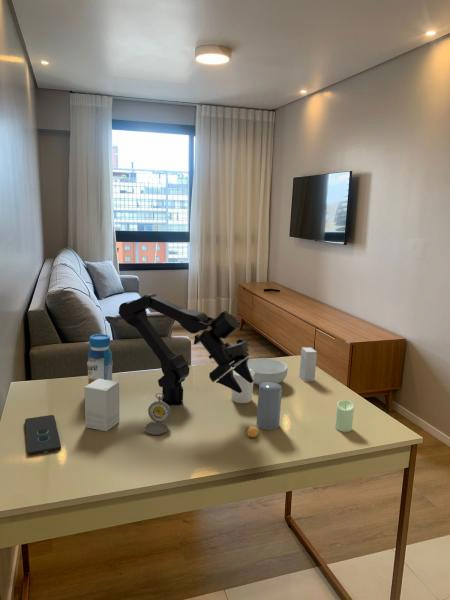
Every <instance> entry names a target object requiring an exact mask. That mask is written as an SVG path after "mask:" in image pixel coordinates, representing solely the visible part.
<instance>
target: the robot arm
mask: <svg viewBox="0 0 450 600" xmlns="http://www.w3.org/2000/svg"><path fill="white" fill-rule="evenodd" d="M147 309H151V310H153V311H155V312H157V313H160V314H162V315H163V316H166V317H168V318H170V319H171V320H174V321H175V322H177V323H178V324H179V325H180V326H181V328H183V329H184V330H186V331H187V332H188V333H190V334H196V335H193V337H194V340H193V345H198V344H202V346H203V347H204V349H205V350H206V351H207V353H208V354H209V355H208V359H209V360H212V359H213V361H215V363H216V364H217V366H216V368H214V369H213V370H212V371H211V372H209V379H210V381H211V382H212V383H216V384H220V385H222V386H225V387H226V388H228V389H230V390H231V391H232V390H234V391H236V392H238V393H241V392H242V390H241V388H240V386H239V384H238V383H237V381H236V380H235V378H234V376H233V370H234V371H235V372H237V373H238V374H239V375H240V376H242V377H243V378H244V379H245V380H247V381H248V382H249V383H252V382H253V379H252V376H251V374H250V371H249V369H248V365H247V363H248V360H250V358H249V356H250V353H248V352H249V351H250V350H249V347H248V346H249V342H247V340H245V339H244V338H243V337H241V338H239V339H237V340H236V343H234V344H230V343H229V342H224V341H223V339H227V338H228V337H229V336H230V335H231V334H233V333H234V332H235V331H237V330H238V329H239V327H240V322H239V321H238V319H237V318H236V317H235V316H233V315H232V314H230V313H228V312H227V311H226V310H224V311H222V312H221V313H219V315H218V316H217V317H216V318H215V317H211V316H209V315H207V314H206V313H205V312H202V311H198V310H195V309H187V308H184V307H182V306H180V305H177V304H175V303H173V302H171V301H169V300H166V299H164V298H163V297H160V296H159V295H157V294H155V293H148V294H144V295H143V296H141V297H140V298H137V299H133V300H130V301H126V302H122V303H121V304H120V305H119V307H118V315H119V317H120V318H121V319H122V320H123V321H124V322H125V323H126V324H127V325H129V326H131V327H133V328H134V329H136V330H137V332H138V333H139V335H140V336H141V337H142V340H144V341H145V343H146V345H147V346H148V347H149V349H150V350H151V352H152V353H153V354H154V355H155V357H156V358H157V359H158V361H159V363H160V367H161V372H162V374H163V375H162V376H161V377H160V378H159V379H158V380H157V383H158V386H159V387H160V388H162V389H161V393H162V394H163V395H164V398H163V395H162V394H161V396H160V397H161V398H162V399H161V401H162V402H165V403H166V404H167V405H168V406H174V405H175V406H176V405H182V404H183V402H182V401H184V387H183V386H182V382H184V381H185V380H186V378H187V377H188V376H189V374H190V370H191V369H190V366H189V365H188V364H189V362H188V361H187V360H186V359H185V358H184V356H183V355H182V354H181V353H180V354H178V355H176V354H175V353H173V351H172V350H171V349H170V348H169V347H168V345H167V344H166V342H165V341H164V339H163V338H162V337H161V336H160V334H159V333H158V332H157V330H156V329H155V328H154V326H153V325H152V323H151V322H150V321H149V318H148V313H147V312H148V311H147ZM209 328H210V329H209ZM201 331H202V332H201ZM200 332H201V333H200ZM197 333H198V334H197ZM199 333H200V334H199ZM231 368H232V369H231Z"/></svg>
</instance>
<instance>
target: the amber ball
mask: <svg viewBox="0 0 450 600" xmlns="http://www.w3.org/2000/svg"><path fill="white" fill-rule="evenodd" d="M258 429H259V428H257V427H255V426H250V427H248V429H247V434H248V436H249V437H250V438H255V437H257V436H258V435H259V430H258Z"/></svg>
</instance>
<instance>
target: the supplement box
mask: <svg viewBox="0 0 450 600" xmlns="http://www.w3.org/2000/svg"><path fill="white" fill-rule="evenodd" d="M83 387H84V419H85V422H84V423H85V428H89V429H93V430H97V431H102V432H108V431H109V430H111V428H113V427H114V426H115V425H117V424H119V422H120V421H121V420H120V382H119V381H114V380H112V381H109V380H104V379H97V380H95V381H94V382H92V383H90V384H89V385H88V384H87V385H86V386H83Z"/></svg>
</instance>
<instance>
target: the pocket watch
mask: <svg viewBox="0 0 450 600" xmlns="http://www.w3.org/2000/svg"><path fill="white" fill-rule="evenodd" d="M157 395H161V396H158V397H157ZM162 395H163V394H162V392H161V393H160V392H158V393H156V394H155V398H156V399H157V400H156V401H153V402H152V403H151V404H150V405H149V406H148V410H147V411H148V416H149V418H150V419H151V420H152V421H153V422H149V423H148V424H146V425H145V427H144V432H146V433H147V434H149V435H153V436H158V435H162V434H163V435H164V434H165V433H166V432H167V431H168V429H169V427H168V425H167V424H166V423H165V422H167V421H168V420H169V419H170V417H171V408H170V405H167V404H166V403H165V402H162V398H161V397H162ZM163 398H164V395H163Z"/></svg>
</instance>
